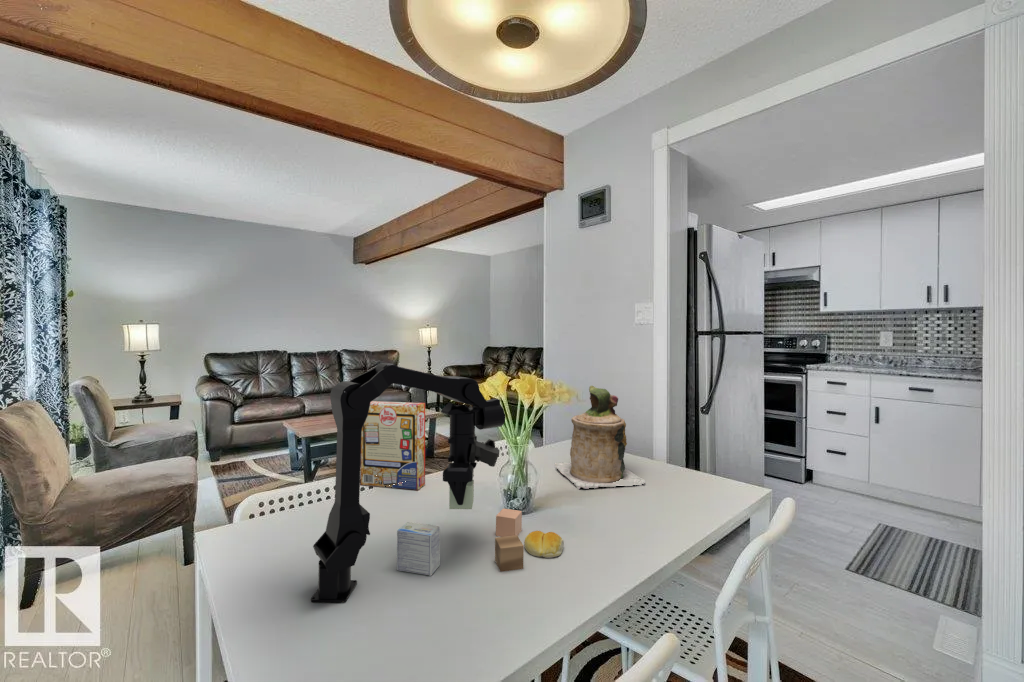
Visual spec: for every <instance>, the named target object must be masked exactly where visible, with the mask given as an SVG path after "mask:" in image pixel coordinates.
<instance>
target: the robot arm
mask: <svg viewBox="0 0 1024 682" xmlns="http://www.w3.org/2000/svg"><path fill="white" fill-rule="evenodd" d="M393 384H394V385H395V384H396V385H400V386H405V387H408V388H409V387H410V388H415V389H419V390H424V391H427V392H434V393H436V394H437V395H439V396H442V397H443V398H446V399H448V400H451V401H454V402H458V403H462V404H459V405H455V404H454V403H452V402H447V404H446V405H445V406H444V407H442V409H440V413H441V414H444V415H448V416H449V437H448V438H447V442H448V444H449V455H448V457H447V462H448V464H447V465H445V467H444V469H443V471H442V482H445V483H447V484H448V486H449V487H450V488H451V490H452V492H453V495H454V497H455V499H456V502H457V504H458V505H463V501H464V496H465V491H466V486H467V483H468V482H471V481H472V480H474V476H475V475H474V474H475V473H474V470H475V468H476V467H477V464H478V462H481V463H484V464H486V465H487V466H489V467H492V468H494V467H495V466H496V464H497V461H498V459H499V455H500V452H501V451H500V449H499V447H496V441H495V440H493V439H489V438H488V439H487V440H486V441H485V442H483V441H482V442H481V441H478V435H476V429H478V430H479V431H480V430H487V429H492V428H493V429H494V428H500V427H503V425H504V424H505V422H506V413H505V410H504V407H503V406H502V405H501V400H500V399H499V398H490V399H486V398H485V397H484V395H483V393H482V392H481V390H480V385H479V383H478V381H477V380H476V379H474V378H470V377H464V376H457V375H455V376H453V375H435V374H432V373H428V372H424V371H419V370H415V369H410V368H408V367H402V366H399V365H397V364H395V363H388V362H381V363H379V364H378V365H376V366H375V367H373V368H372V369H370V370H368V371H366V372H363V373H362V374H359V375H356V376H355V377H353V378H352V379H350V380H345V381H340V382H338V383H336V385H335V386H333V387H332V388H331V390H330V395H329V397H330V398H329V399H330V403H331V405H330V406H331V412H332V416H333V419H334V423H335V426H336V458H335V461H336V462H335V484H334V485H335V487H334V496H335V497H334V502H333V505H332V506H331V510H330V511H329V514H328V518H327V522H326V528H325V531H324V532H323V533H322V535H321V536H320V537H319V538H318V540H316V541H315V543H314V544H313V545H312V547H313V549H314V552H315V554H316V556H318V558H319V560H318V585H317V587H318V588H317V590H316V591H315V592H314V594H313V595H312V596H311V598H310V602H311V603H345V602H347V600H348V599H349V597H350V596H351V594H352V593H353V591H354V590H355V588H356V586H357V585H358V581H357V580H356V579H353V580H352V567H353V566H355V564H356V562H357V559H358V556H359V553H360V550H361V549H362V548H363V547H364V546H365V545H366V542H367V537H368V536H370V535H371V532H370V527H369V526H370V520H371V513H370V512H369V511H368V510H367V509H366V508H365V507H363V505H361V503H360V492H361V491H360V490H361V487H360V486H361V482H360V481H361V433H362V428H363V425H364V423H365V421H366V419H367V416H368V412H369V407H370V403H371V401H375V399H377V398H379V397H380V396H381V395H383V393H384V392H385V391H386V390H387V389H388V388H389V387H390V386H391V385H393ZM468 405H469V406H472V407H468ZM476 461H478V462H476Z"/></svg>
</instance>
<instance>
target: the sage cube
mask: <svg viewBox="0 0 1024 682" xmlns="http://www.w3.org/2000/svg"><path fill="white" fill-rule="evenodd" d="M474 484H475V480H474V479H473V480H472V481H471V482H468V483H467V486H466V491H465V496H464V501H463V505H458V504H457V502H456V499H455V497H454V495H453V492H452V490H451V488H450V486H449V487H448V488H449V490H448V491H449V492H448V493H449V498H448V499H449V503H448V505H449V506H448V507H449V508H448V509H449V510H473V507H474V506H473V505H474V499H475V498H474V497H475V496H474V495H475V494H474V491H475V489H474V487H475V486H474Z"/></svg>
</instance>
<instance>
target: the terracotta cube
mask: <svg viewBox="0 0 1024 682" xmlns="http://www.w3.org/2000/svg"><path fill="white" fill-rule="evenodd" d="M522 512H523V511H522V510H516V509H509V508H502V509H501V510H500V511H499V512H498V513H497V514H496V515H495V536H496V537H506V536H515V535H517V536H518V537H519V534H520V533H521V532H522V529H523V528H522V527H523V524H522V523H523V519H522V517H523V514H522Z"/></svg>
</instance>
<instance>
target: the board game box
mask: <svg viewBox="0 0 1024 682" xmlns="http://www.w3.org/2000/svg"><path fill="white" fill-rule="evenodd" d="M376 475H377V476H376ZM405 481H406V482H405ZM402 482H403V483H402ZM398 483H399V484H398ZM393 484H395V485H393ZM389 485H390V486H389ZM425 485H426V402H404V401H402V402H401V401H381V400H380V401H379V400H373V401H371V403H370V407H369V412H368V416H367V419H366V421H365V423H364V425H363V428H362V433H361V464H360V486H368V487H369V486H370V487H382V488H391V487H392V488H393V489H404V490H405V489H406V490H415V491H419V490H420V489H421V488H423V487H424V486H425ZM385 486H386V487H385ZM422 486H423V487H422ZM392 488H391V489H392Z"/></svg>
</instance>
